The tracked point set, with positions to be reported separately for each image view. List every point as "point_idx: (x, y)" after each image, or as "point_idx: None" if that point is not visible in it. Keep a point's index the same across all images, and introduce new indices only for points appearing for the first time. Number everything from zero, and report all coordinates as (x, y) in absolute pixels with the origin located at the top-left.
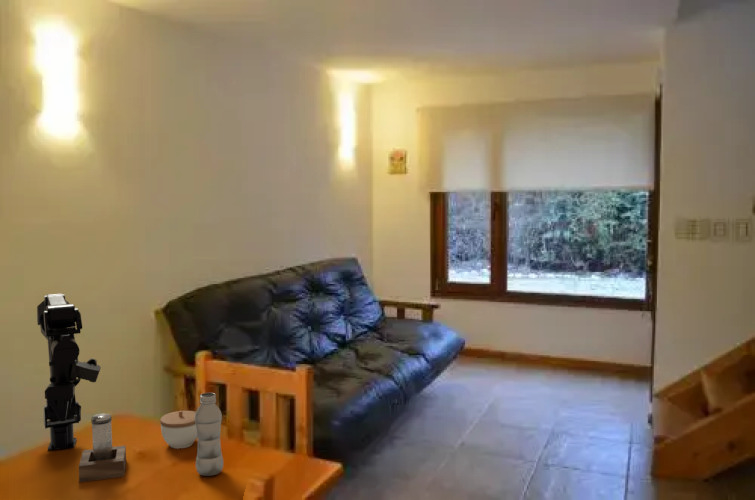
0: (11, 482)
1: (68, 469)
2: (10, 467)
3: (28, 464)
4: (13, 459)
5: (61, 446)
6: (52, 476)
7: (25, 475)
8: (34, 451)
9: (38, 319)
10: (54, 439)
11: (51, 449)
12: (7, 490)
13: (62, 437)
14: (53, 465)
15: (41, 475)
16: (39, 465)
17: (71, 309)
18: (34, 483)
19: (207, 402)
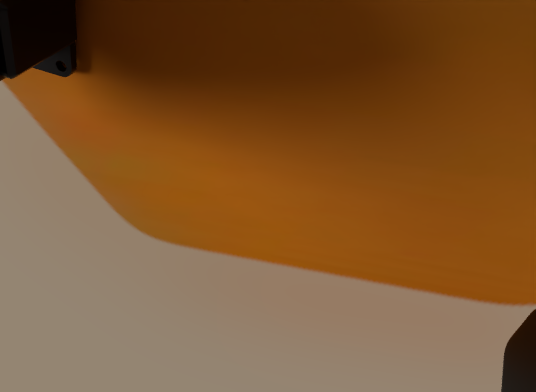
0: (419, 275)
1: (445, 6)
2: (227, 242)
3: (227, 180)
4: (135, 216)
5: (69, 5)
6: (493, 114)
7: (370, 217)
8: (62, 128)
9: None
10: (37, 63)
11: (72, 56)
12: (509, 304)
13: (30, 16)
14: (311, 79)
15: (428, 159)
16: (269, 142)
17: None
18: (522, 207)
19: None
